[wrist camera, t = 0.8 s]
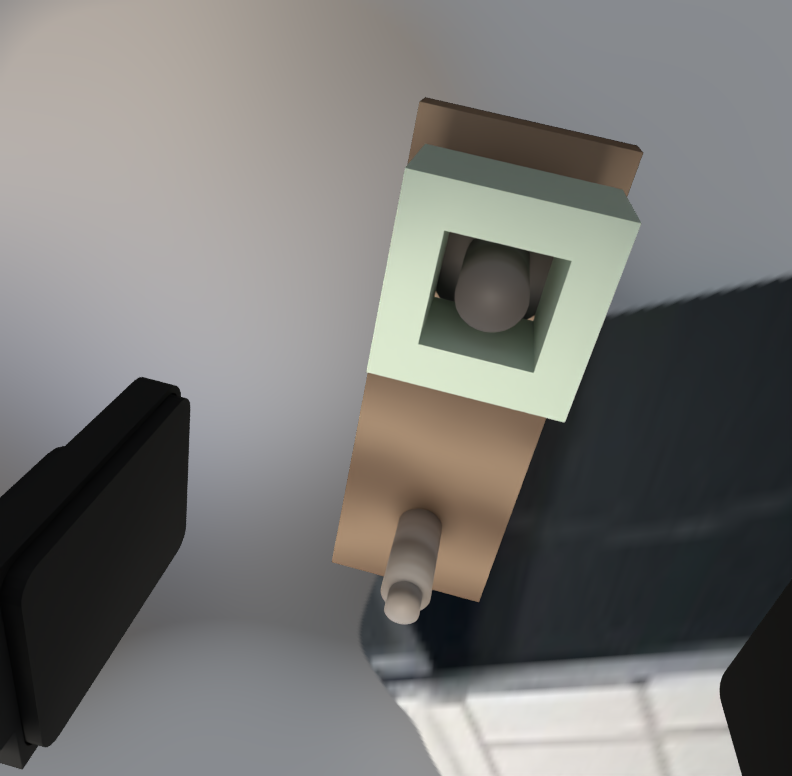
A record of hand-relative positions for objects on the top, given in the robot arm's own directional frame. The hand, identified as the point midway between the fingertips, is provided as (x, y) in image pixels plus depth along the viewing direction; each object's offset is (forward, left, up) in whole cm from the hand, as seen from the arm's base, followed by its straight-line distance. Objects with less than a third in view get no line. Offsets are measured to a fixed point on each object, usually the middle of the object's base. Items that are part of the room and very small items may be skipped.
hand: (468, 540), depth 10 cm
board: (-8, 0, -19) cm, 20 cm away
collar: (0, 0, -14) cm, 14 cm away
